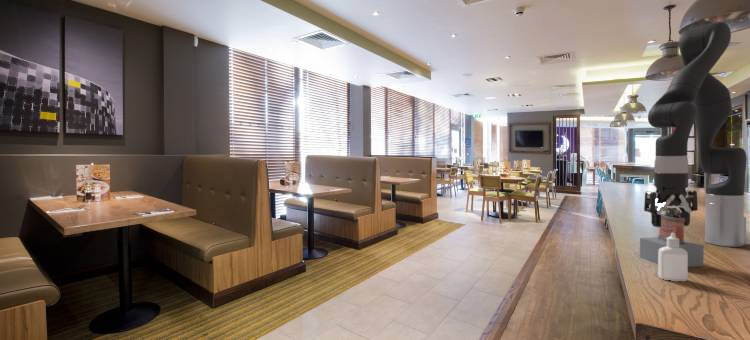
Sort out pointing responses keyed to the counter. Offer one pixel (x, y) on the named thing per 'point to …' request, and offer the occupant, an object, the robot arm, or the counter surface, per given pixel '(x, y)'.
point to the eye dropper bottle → (673, 261)
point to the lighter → (672, 225)
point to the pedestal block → (652, 245)
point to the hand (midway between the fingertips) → (670, 226)
